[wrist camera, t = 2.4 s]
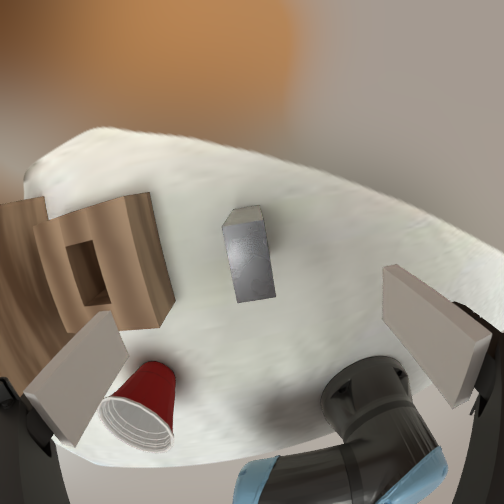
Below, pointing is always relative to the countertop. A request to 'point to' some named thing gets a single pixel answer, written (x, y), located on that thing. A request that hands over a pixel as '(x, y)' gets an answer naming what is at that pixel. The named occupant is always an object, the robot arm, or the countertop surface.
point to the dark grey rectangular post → (248, 254)
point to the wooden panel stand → (75, 277)
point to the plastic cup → (143, 409)
